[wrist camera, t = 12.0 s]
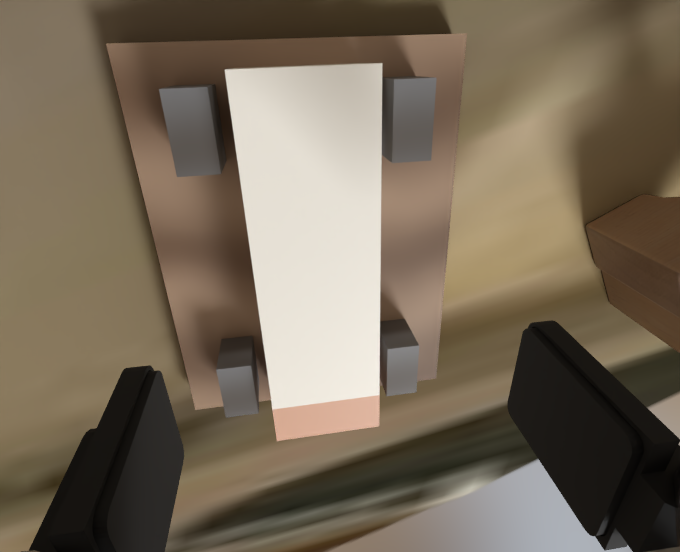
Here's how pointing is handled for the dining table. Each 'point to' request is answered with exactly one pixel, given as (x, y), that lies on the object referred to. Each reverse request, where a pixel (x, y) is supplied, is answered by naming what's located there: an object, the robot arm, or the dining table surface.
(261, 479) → the dining table surface
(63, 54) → the dining table surface
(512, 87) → the dining table surface
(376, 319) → the block
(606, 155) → the dining table surface
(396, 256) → the brown fixture board
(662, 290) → the wooden toy
